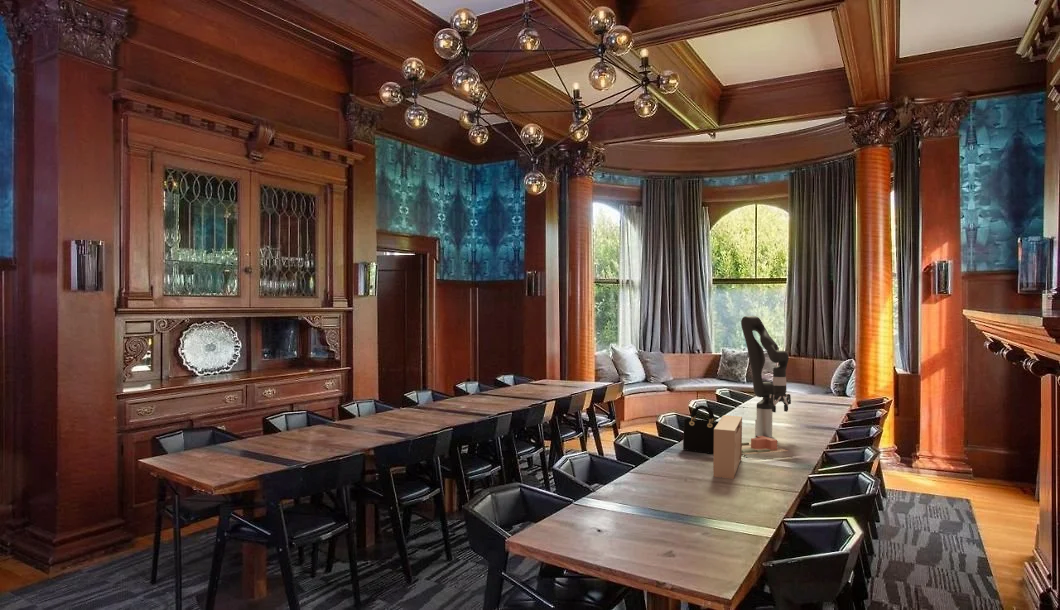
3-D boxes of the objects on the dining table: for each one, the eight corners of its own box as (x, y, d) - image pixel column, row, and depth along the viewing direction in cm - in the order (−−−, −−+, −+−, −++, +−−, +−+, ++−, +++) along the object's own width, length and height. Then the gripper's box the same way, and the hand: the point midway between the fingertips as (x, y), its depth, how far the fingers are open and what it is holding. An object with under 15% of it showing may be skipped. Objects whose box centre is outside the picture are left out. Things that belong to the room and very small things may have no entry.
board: (718, 446, 361) (718, 442, 361) (759, 443, 370) (759, 439, 370) (746, 456, 338) (746, 452, 338) (788, 453, 347) (788, 449, 347)
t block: (746, 445, 359) (746, 436, 359) (762, 444, 362) (762, 435, 362) (760, 450, 347) (760, 441, 347) (777, 449, 351) (777, 440, 351)
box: (742, 459, 332) (743, 416, 332) (735, 479, 295) (736, 430, 295) (722, 457, 336) (723, 415, 335) (713, 476, 299) (713, 429, 299)
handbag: (723, 452, 348) (723, 406, 348) (718, 455, 341) (719, 408, 340) (686, 447, 359) (686, 402, 359) (681, 450, 352) (681, 405, 352)
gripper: (784, 383, 384) (785, 410, 384) (765, 384, 380) (765, 411, 379) (793, 384, 377) (794, 412, 377) (774, 385, 373) (774, 413, 372)
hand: (779, 411), depth 378 cm, fingers open, 8 cm apart
